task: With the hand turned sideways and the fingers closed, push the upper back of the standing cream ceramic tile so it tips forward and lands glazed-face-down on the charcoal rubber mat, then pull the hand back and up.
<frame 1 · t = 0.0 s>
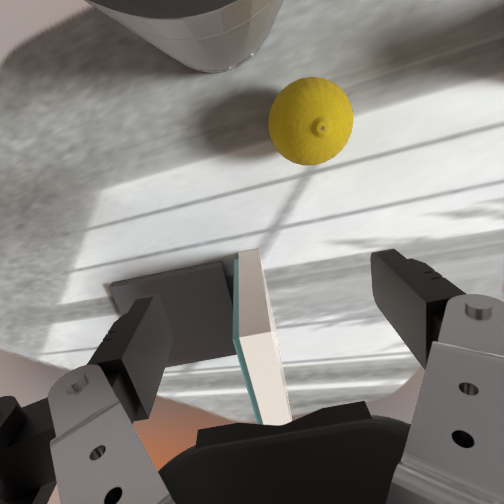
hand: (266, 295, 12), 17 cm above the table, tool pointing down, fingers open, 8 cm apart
lemon: (298, 119, 25), on the table
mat: (183, 316, 33), on the table
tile: (257, 301, 33), on the table
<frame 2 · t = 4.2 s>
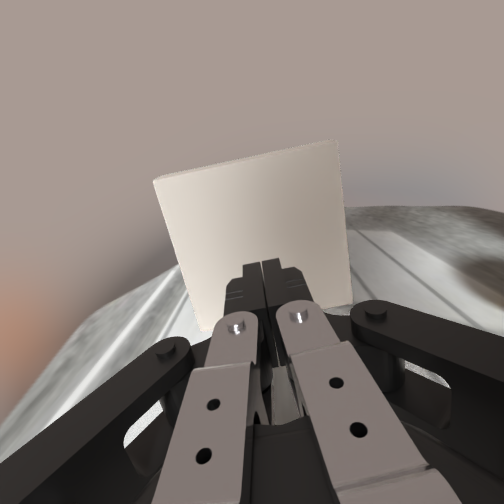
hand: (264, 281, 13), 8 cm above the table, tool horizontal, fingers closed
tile: (274, 309, 26), on the table
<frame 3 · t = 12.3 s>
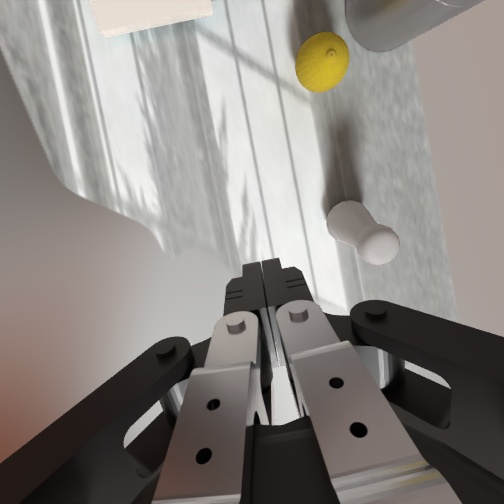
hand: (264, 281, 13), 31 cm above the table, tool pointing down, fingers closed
salt shaker: (342, 217, 45), on the table
lemon: (312, 70, 38), on the table
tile: (158, 24, 34), point 2 cm above the table, tilted 90°, touching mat
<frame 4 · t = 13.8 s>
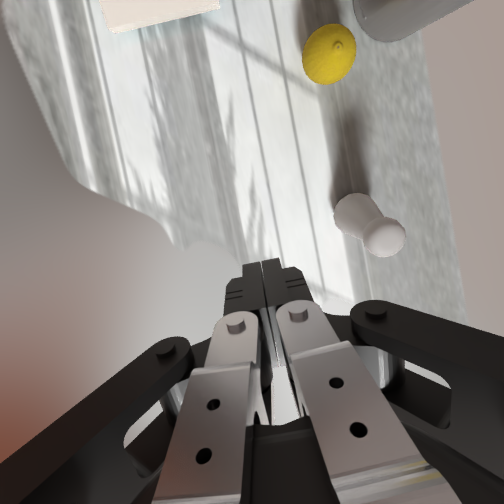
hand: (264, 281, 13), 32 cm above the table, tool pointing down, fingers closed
salt shaker: (349, 209, 45), on the table
lemon: (319, 62, 38), on the table
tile: (165, 19, 34), point 2 cm above the table, tilted 90°, touching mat
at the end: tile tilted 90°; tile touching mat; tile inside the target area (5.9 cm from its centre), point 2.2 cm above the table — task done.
